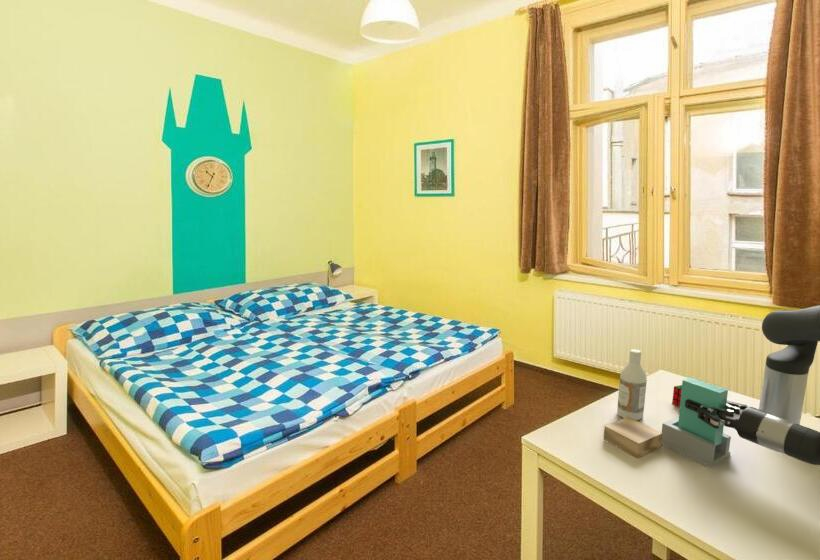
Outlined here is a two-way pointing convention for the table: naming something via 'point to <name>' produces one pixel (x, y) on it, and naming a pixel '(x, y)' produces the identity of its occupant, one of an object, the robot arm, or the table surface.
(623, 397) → the bath foam
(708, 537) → the table surface
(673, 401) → the puzzle toy
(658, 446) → the wooden square base
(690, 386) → the teal rectangular block
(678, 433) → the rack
